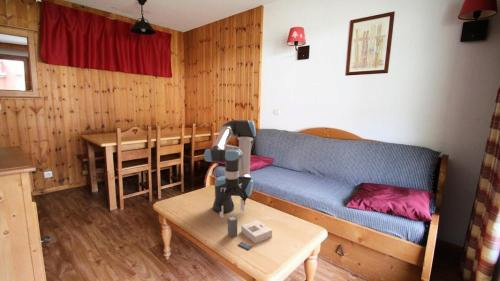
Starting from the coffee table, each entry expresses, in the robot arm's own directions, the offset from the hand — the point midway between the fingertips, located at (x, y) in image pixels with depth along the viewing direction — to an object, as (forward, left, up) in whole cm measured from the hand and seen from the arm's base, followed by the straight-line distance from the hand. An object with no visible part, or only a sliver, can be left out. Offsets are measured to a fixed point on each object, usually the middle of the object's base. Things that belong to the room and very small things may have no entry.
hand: (232, 213), depth 138 cm
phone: (+13, 0, -14) cm, 19 cm away
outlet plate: (+7, +12, -14) cm, 19 cm away
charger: (0, 0, -14) cm, 14 cm away
